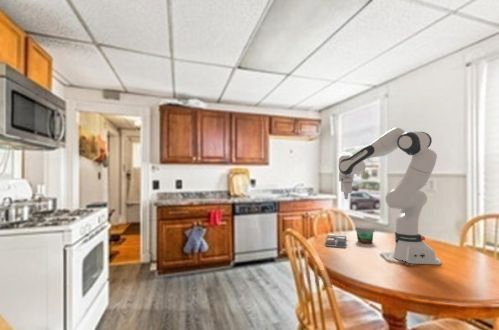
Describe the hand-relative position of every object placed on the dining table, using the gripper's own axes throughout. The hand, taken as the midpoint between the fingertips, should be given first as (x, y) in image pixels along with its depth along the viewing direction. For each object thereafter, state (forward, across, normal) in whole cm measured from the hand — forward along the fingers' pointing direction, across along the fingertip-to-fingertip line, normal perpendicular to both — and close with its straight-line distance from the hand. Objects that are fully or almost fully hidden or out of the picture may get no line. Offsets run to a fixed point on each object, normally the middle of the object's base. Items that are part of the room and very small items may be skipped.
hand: (346, 199), depth 184 cm
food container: (+31, -4, +13) cm, 33 cm away
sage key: (+29, -10, -2) cm, 31 cm away
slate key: (+28, +4, -4) cm, 29 cm away
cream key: (+29, -11, -9) cm, 32 cm away
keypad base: (+30, -3, -7) cm, 31 cm away
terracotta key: (+29, +3, -11) cm, 32 cm away
